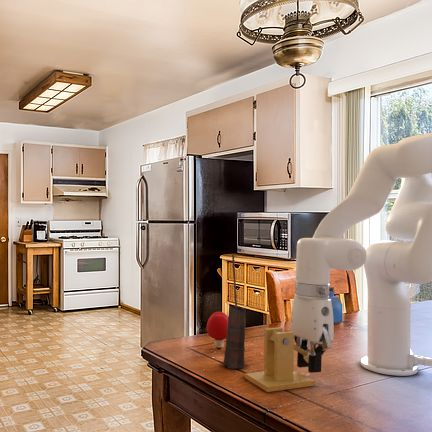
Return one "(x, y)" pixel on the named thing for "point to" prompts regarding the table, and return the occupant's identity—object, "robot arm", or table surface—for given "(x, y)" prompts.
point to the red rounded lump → (218, 328)
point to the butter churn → (235, 334)
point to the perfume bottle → (335, 306)
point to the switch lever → (295, 348)
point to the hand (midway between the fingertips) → (308, 368)
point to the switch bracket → (278, 364)
